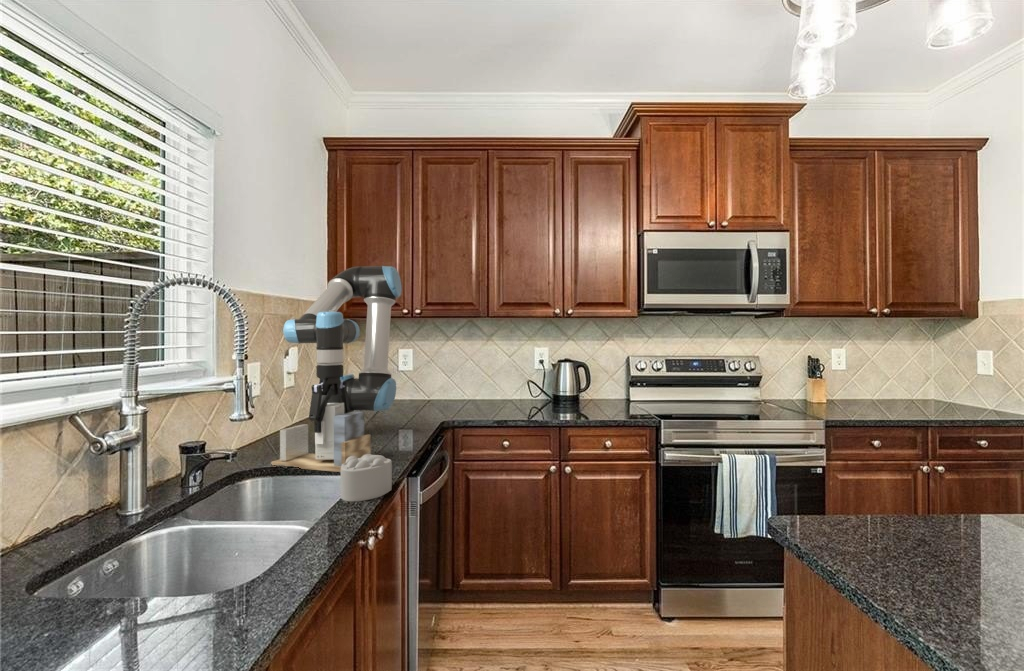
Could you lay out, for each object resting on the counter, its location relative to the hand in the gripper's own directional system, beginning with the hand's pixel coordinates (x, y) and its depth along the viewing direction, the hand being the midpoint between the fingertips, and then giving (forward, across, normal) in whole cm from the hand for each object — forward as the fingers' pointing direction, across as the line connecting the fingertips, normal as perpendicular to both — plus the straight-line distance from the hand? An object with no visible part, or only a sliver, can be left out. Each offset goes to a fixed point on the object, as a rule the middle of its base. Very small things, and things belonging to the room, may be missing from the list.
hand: (330, 440), depth 156 cm
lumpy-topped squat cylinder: (+7, +22, +25) cm, 34 cm away
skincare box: (+5, 0, 0) cm, 5 cm away
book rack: (+7, 0, -3) cm, 8 cm away
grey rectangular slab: (+6, 0, -13) cm, 14 cm away
